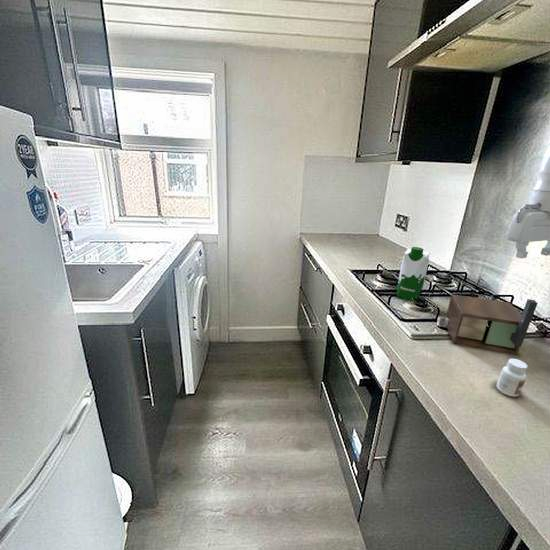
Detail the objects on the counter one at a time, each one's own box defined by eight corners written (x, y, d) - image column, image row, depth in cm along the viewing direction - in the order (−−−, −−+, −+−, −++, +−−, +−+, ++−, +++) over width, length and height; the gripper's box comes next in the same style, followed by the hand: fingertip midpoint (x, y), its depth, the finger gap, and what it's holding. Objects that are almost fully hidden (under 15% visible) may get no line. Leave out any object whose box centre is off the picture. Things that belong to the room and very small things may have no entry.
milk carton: (393, 297, 117) (403, 247, 110) (398, 289, 124) (408, 242, 117) (418, 303, 113) (429, 252, 105) (421, 295, 120) (432, 246, 112)
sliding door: (513, 347, 85) (532, 297, 79) (518, 355, 82) (539, 303, 76) (484, 342, 87) (501, 293, 81) (489, 349, 83) (506, 298, 78)
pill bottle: (520, 400, 68) (531, 372, 65) (496, 392, 70) (506, 364, 67) (517, 388, 71) (528, 361, 68) (495, 381, 73) (505, 354, 71)
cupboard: (500, 330, 96) (509, 302, 92) (517, 354, 84) (529, 323, 80) (444, 321, 100) (451, 294, 97) (453, 343, 88) (461, 313, 85)
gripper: (535, 206, 69) (517, 263, 74) (592, 203, 75) (572, 256, 80) (508, 202, 75) (493, 255, 80) (563, 200, 81) (546, 250, 86)
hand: (533, 256), depth 80 cm, fingers open, 8 cm apart
